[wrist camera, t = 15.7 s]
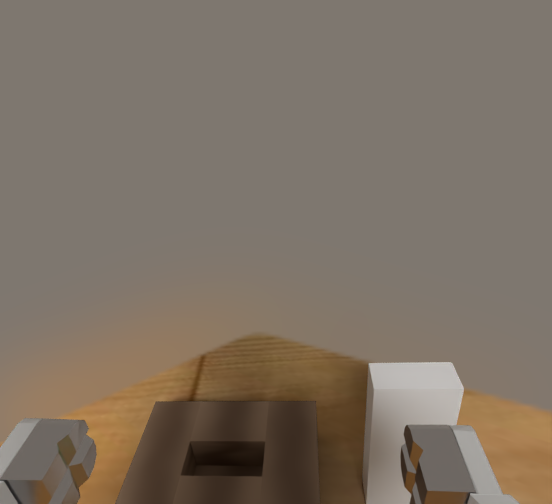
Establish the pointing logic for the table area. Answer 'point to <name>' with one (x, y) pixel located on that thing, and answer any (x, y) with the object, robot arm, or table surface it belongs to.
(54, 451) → the robot arm
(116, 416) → the table surface
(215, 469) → the slotted box
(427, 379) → the tall white pillar
